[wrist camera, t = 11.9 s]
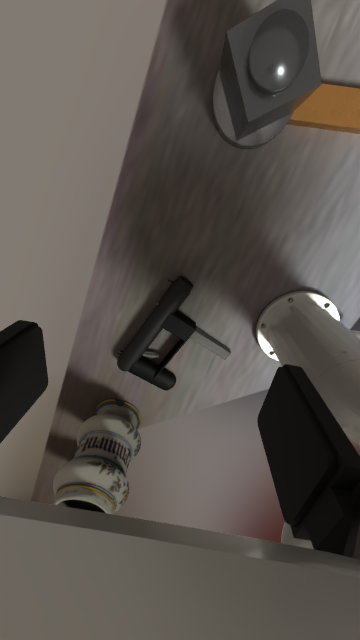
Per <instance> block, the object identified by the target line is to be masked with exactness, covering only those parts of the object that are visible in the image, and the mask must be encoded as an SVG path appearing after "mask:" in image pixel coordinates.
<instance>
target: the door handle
mask: <svg viewBox="0 0 360 640" xmlns="http://www.w3.org/2000/svg"><path fill="white" fill-rule="evenodd" d="M168 281H170V280H168ZM170 282H171V281H170ZM171 283H172V285H171V286H170V287H169V289H168V290H167V292H166V293H165V294H164V296H163V297H162V299H161V300H160V301H159V303H157V304H156V305H157V306H156V307H155V308H154V310H153V311H152V313H151V314H150V315H149V317H148V318H147V319H146V321H145V322H144V324H143V325H142V326H141V328H140V329H139V331H138V332H137V333H136V335H135V336H134V338H133V339H132V340H131V342H130V343H129V345H128V346H127V347H126V349H125V350H124V352H123V351H121V350H120V351H121V352H123V353H122V354H120V353H118V354H120V355H121V356H120V357H119V359H118V361H117V365H118V367H119V369H120V370H122V371H128V372H130V373H132V374H134V375H136V376H138V377H140V378H142V379H144V380H145V381H147V382H149V383H151V384H153V385H155V386H157V387H159V388H161V389H163V390H169V389H171V388H172V387H173V386H174V385H175V383H176V377H175V375H173V374H171V373H169V372H168V371H166V370H164V369H163V368H164V367H165V366H166V365H167V364H168V362H169V361H170V360H171V359H172V358H173V356H174V355H175V354H176V353H177V352H178V351H179V349H180V348H181V347H182V346H183V345H184V343H185V342H186V341H187V340H188V339H189V338H190V339H191V340H193V341H195V342H196V343H198V344H200V345H201V346H203V347H205V348H206V349H208V350H210V351H211V352H213V353H215V354H216V355H218V356H220V357H221V358H223V359H224V360H225V359H226V358H227V357H228V356H229V355H230V354H231V351H230V349H229V348H227V347H226V346H224V345H223V344H221V343H220V342H218V341H217V340H215V339H214V338H212V337H211V336H209V335H208V334H206V333H205V332H203V331H202V330H200V329H198V328H197V327H196V323H195V322H194V321H192V320H191V319H189V318H188V317H186V316H185V315H183V314H182V313H180V312H179V311H177V309H178V308H179V307H180V305H181V304H182V303H183V301H184V300H185V299H186V298H187V296H188V295H189V293H190V291H191V289H192V287H193V284H192V283H191V282H190V281H189V280H187V279H186V278H184V277H183V276H179V278H178V279H177V280H175V281H174V282H173V281H172V282H171ZM163 328H164V329H165V330H167V331H169V332H170V333H172V334H174V335H175V336H177V337H179V338H180V340H179V341H178V343H177V344H176V345H175V346H174V347H173V349H172V350H171V351H170V352H169V353H168V355H167V356H166V357H165V358H164V359H163V361H162V362H161V363H160V364H159V365H158V366H157V365H155V364H153V363H151V362H149V361H147V360H146V359H144V358H142V357H141V356H145V357H152V358H157V357H159V354H148V353H144V352H145V351H146V350H147V348H148V347H149V346H150V344H151V343H152V342H153V340H154V339H155V338H156V337H157V335H158V334H159V333H160V331H161V330H162V329H163Z"/></svg>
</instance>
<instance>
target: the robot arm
mask: <svg viewBox="0 0 360 640" xmlns="http://www.w3.org/2000/svg"><path fill="white" fill-rule="evenodd" d="M289 298H290V299H289ZM288 299H289V300H288ZM261 324H262V325H261ZM256 337H257V340H258V343H259V345H260V347H261V349H262V350H263V351H264V353H265V354H267V355H268V356H269V357H271V358H273V359H275V360H277V361H279V362H280V364H281V366H282V367H279V368H278V369H277V371H276V374H275V376H274V379H273V381H272V383H271V386H270V388H269V391H268V394H267V396H266V398H265V401H264V403H263V406H262V408H261V410H260V413H259V415H258V427H259V430H260V434H261V438H262V442H263V445H264V449H265V452H266V456H267V460H268V463H269V467H270V471H271V474H272V478H273V481H274V485H275V488H276V492H277V496H278V499H279V503H280V507H281V510H282V514H283V517H284V520H285V524H284V527H283V531H282V538H281V543H278V542H272V541H267V540H261V539H256V538H250V537H244V536H238V535H231V534H226V533H220V532H214V531H208V530H202V529H197V528H191V527H185V526H179V525H173V524H167V523H161V522H155V521H149V520H143V519H137V518H130V517H125V516H119V515H113V514H107V513H101V512H95V511H88V510H82V509H76V508H70V507H64V506H58V505H52V504H46V503H39V502H33V501H27V500H20V499H14V498H7V497H1V496H0V640H360V332H359V331H352V330H349V329H347V328H346V327H345V326H344V325H342V324H341V323H340V316H339V312H338V310H337V308H336V306H335V305H334V304H333V303H332V302H331V301H330V300H329V299H327V298H326V297H324V296H323V295H321V294H318V293H315V292H310V291H296V292H292V293H288V294H285V295H283V296H281V297H279V298H277V299H276V300H274V301H273V302H272V303H270V304H269V305H268V306H267V307H266V308H265V309H264V311H263V312H262V314H261V315H260V317H259V319H258V322H257V326H256ZM47 385H48V375H47V367H46V358H45V350H44V341H43V333H42V329H41V328H40V327H38V324H37V323H34V322H28V321H22V320H19V321H17V322H15V323H13V324H12V325H10V326H9V327H7V328H5V329H4V330H2V331H0V443H1V442H2V441H3V440H4V438H5V437H6V436H7V435H8V434H9V432H10V431H11V430H12V429H13V428H14V427H15V425H16V424H17V423H18V422H19V420H20V419H21V418H22V417H23V416H24V415H25V413H26V412H27V411H28V410H29V409H30V407H31V406H32V405H33V404H34V403H35V402H36V400H37V399H38V398H39V397H40V396H41V394H42V393H43V392H44V391H45V389H46V388H47Z"/></svg>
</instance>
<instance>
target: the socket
mask: <svg viewBox="0 0 360 640" xmlns="http://www.w3.org/2000/svg"><path fill="white" fill-rule="evenodd" d="M219 75H220V79H221V83H222V86H223V90H224V94H225V98H226V102H227V106H228V109H229V113H230V117H231V121H232V125H233V129H234V132H235V136H236V140H237V141H238V140H240V139H242V138H244V137H246V136H248V135H250V134H252V133H254V132H256V131H258V130H260V129H262V128H264V127H265V126H267V125H269V124H271V123H273V122H275V121H277V120H279V119H281V118H283V117H285V116H287V115H289V114H291V113H293V112H294V111H295V110H296V109H297V108H298V107H299V106H300V105H301V104H302V103H303V102H304V101H305V100H306V99H307V98H308V97H309V96H310V95H311V94H313V93H314V92H315V91H316V90H317V89H318V88H319V87H320V86H321V85H322V83H321V75H320V68H319V60H318V52H317V44H316V37H315V29H314V21H313V14H312V6H311V0H277V1H275V2H273V3H272V4H270V5H268V6H267V7H265V8H264V9H262V10H260V11H259V12H257V13H255V14H254V15H252V16H251V17H249V18H247V19H246V20H244V21H242V22H241V23H239V24H237V25H236V26H234V27H233V28H231V29H229V30H228V31H226V37H225V43H224V48H223V54H222V60H221V66H220V71H219Z"/></svg>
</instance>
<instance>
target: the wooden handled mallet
mask: <svg viewBox="0 0 360 640" xmlns="http://www.w3.org/2000/svg"><path fill="white" fill-rule="evenodd" d="M219 71H220V68H219ZM219 71H218V73H217V77H216V80H215V86H214V91H213V100H212V111H213V117H214V122H215V124H216V127H217V129H218V131H219V133H220V134H221V136H222V137H223V138H224V139H225V141H227V142H228V143H229V144H231V145H232V146H234V147H237V148H240V149H254V148H258V147H260V146H262V145H264V144H266V143H267V142H269V141H270V140H271V139H273V138H274V137H275V136H276V135H277V134H278V133H279V132H280V131H281V130H282V129H283V128H284V127H285V126H286V124H290V125H297V126H305V127H312V128H319V129H327V130H334V131H341V132H349V133H356V134H360V89H359V88H352V87H344V86H337V85H330V84H322V85H321V86H320V87H319V88H318V89H317V90H316V91H315V92H314V93H313V94H311V95H310V96H309V97H308V98H307V99H306V100H305V101H304V102H303V103H302V104H301V105H300V106H299V107H298V108H297V109H296V110H295V111H294V112H293V113H291V114H289V115H287V116H285V117H283V118H281V119H279V120H277V121H275V122H273V123H271V124H269V125H267V126H265V127H264V128H262V129H260V130H258V131H256V132H254V133H252V134H250V135H248V136H246V137H244V138H242V139H240V140H238V141H237V140H236V136H235V132H234V129H233V125H232V121H231V117H230V113H229V109H228V106H227V102H226V98H225V94H224V90H223V86H222V83H221V79H220V75H219Z"/></svg>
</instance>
